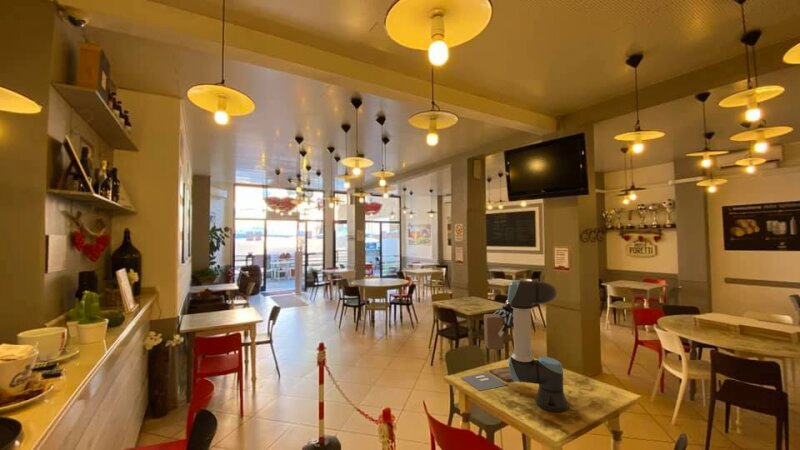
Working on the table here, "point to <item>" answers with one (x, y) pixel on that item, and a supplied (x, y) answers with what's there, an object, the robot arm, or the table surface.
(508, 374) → the walnut board
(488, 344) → the wooden block
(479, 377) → the gray tile
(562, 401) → the robot arm
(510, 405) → the table surface
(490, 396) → the table surface
